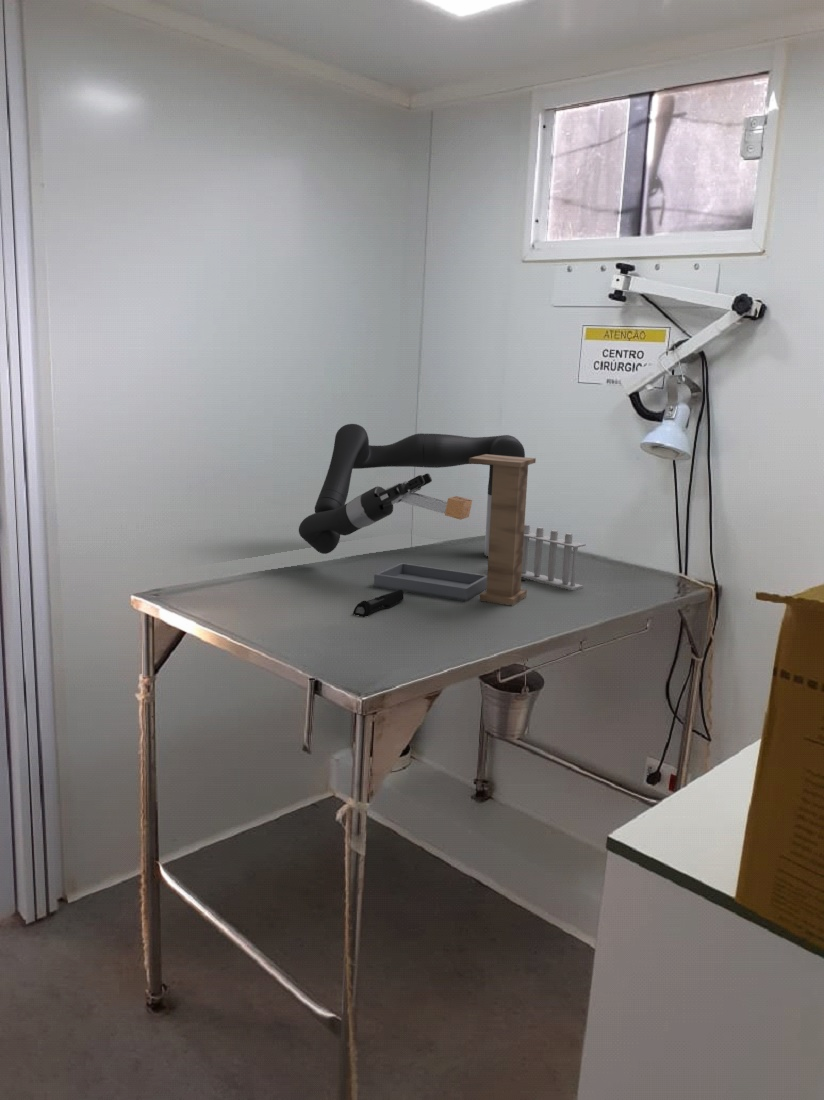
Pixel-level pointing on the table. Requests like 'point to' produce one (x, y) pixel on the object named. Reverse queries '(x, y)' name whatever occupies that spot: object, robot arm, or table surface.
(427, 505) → the lock pin
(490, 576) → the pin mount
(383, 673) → the table surface
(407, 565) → the parts tray
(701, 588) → the table surface
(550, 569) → the test tube rack
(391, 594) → the electric trimmer
